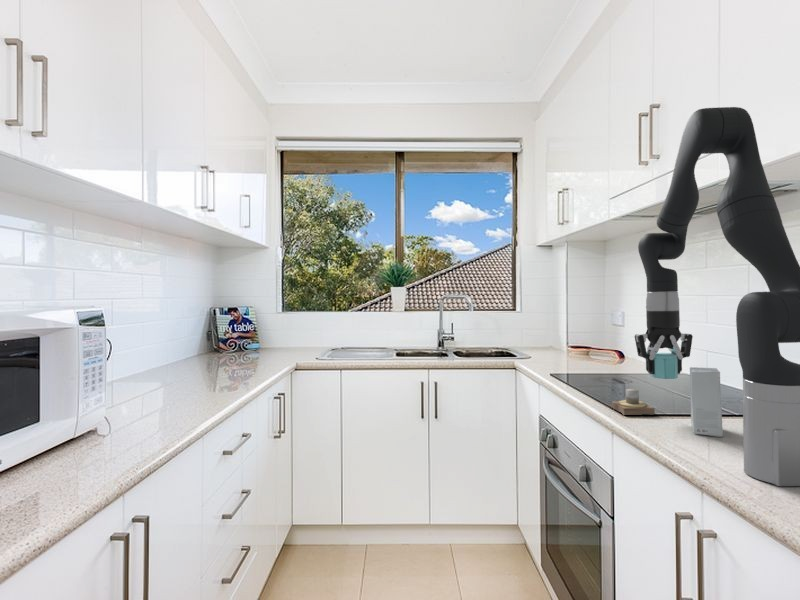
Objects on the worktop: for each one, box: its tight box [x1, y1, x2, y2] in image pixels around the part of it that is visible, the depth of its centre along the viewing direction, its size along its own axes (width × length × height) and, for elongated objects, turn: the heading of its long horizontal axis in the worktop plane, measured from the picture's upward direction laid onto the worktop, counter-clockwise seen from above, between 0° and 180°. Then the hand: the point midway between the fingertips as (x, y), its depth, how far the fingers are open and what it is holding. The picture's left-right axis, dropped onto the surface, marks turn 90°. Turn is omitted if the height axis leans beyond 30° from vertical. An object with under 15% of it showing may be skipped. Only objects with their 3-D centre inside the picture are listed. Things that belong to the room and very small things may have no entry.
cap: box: [650, 352, 679, 380], centre depth 121 cm, size 6×6×6 cm
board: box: [611, 388, 656, 416], centre depth 128 cm, size 8×8×6 cm
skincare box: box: [689, 367, 724, 438], centre depth 110 cm, size 8×6×15 cm
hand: (664, 373), depth 121 cm, fingers closed on cap, 5 cm apart
